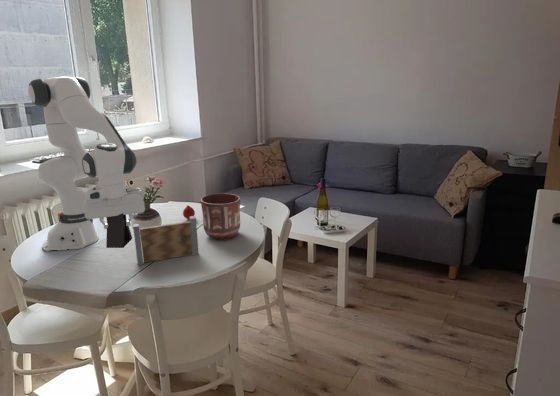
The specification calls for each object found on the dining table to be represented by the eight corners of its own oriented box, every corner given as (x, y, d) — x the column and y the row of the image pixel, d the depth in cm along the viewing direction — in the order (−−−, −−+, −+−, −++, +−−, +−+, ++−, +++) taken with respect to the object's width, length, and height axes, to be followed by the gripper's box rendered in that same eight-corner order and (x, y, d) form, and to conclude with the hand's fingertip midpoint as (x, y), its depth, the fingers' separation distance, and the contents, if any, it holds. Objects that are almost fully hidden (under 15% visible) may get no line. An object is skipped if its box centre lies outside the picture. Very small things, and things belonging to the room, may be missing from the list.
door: (144, 264, 166) (140, 231, 162) (143, 261, 169) (139, 228, 165) (193, 256, 173) (191, 223, 169) (192, 252, 176) (189, 221, 172)
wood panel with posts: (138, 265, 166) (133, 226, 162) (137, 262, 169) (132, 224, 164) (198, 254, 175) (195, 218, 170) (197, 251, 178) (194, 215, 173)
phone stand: (122, 248, 151) (118, 216, 147) (106, 248, 151) (101, 216, 147) (132, 238, 159) (128, 208, 156) (116, 238, 159) (112, 208, 156)
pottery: (206, 245, 184) (203, 205, 179) (200, 231, 200) (197, 194, 195) (245, 240, 189) (244, 201, 184) (236, 227, 205) (235, 191, 200)
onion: (196, 217, 219) (194, 203, 217) (194, 221, 213) (193, 206, 211) (184, 218, 219) (183, 203, 216) (182, 222, 213) (181, 206, 211)
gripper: (142, 184, 156) (146, 220, 160) (81, 191, 148) (87, 227, 152) (144, 189, 150) (148, 225, 154) (81, 195, 143) (86, 234, 147)
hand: (117, 226), depth 153 cm, fingers closed on phone stand, 6 cm apart
